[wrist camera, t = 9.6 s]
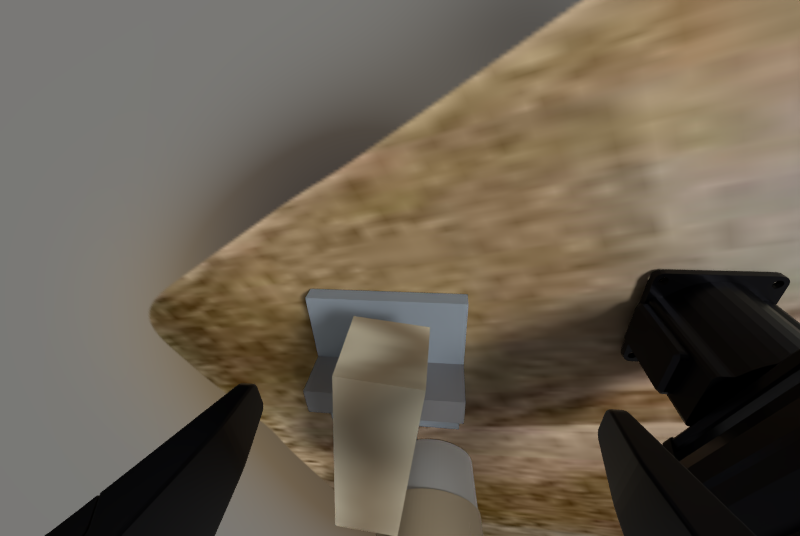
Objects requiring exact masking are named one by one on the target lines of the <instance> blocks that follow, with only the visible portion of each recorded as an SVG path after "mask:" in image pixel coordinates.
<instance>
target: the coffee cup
mask: <svg viewBox="0 0 800 536" xmlns="http://www.w3.org/2000/svg"><path fill="white" fill-rule="evenodd" d="M376 536H391V535H386V534H380V533H376ZM398 536H483V530H482V522H481V515H480V512H479V510H478V508H477V500H476V492H475V484H474V476H473V468H472V461H471V458H470V457H469V455H468V454H467V453H466V452H465V451H464V450H463V449H461V448H460V447H458V446H456V445H454V444H452V443H449V442H446V441H441V440H435V439H419V440H416V444H415V449H414V454H413V459H412V464H411V470H410V475H409V480H408V485H407V490H406V495H405V500H404V506H403V511H402V516H401V521H400V526H399V531H398Z"/></svg>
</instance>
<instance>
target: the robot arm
mask: <svg viewBox="0 0 800 536" xmlns="http://www.w3.org/2000/svg"><path fill="white" fill-rule="evenodd" d="M664 277H665V278H664ZM661 278H664V279H663V280H661V281H659V279H661ZM776 281H777V282H776ZM774 282H776V283H774ZM773 283H774V284H773ZM789 283H790V280H789V278H787V277H786V276H784V275H783V274H781V273H778V272H741V271H702V270H658V271H655V272H654V273H652V274H651V276H650V278H649V280H648V283H647V286H646V288H645V291H644V293H643V296H642V298H641V301H640V303H639V305H638V306H637V307H636V309H635V312H634V314H633V317H632V319H631V322H630V325H629V327H628V330H627V332H626V335H625V342H624V344H623V347H622V349H621V353H622V355H623V357H624V359H625V360H627V361H639V363H640V365H641V366H642V368H643V369H644V371H645V373H646V374H647V376H648V378H649V379H650V381H651V383H652V384H653V386H654V388H655V389H656V390H657V391H658V392H659V393H660V394H667V396H668V397H669V399H670V401H671V402H672V404H673V405H674V407H675V409H676V410H677V412H678V413H679V415H680V416H681V418H682V420H683V421H684V423H685V424H686V425H687V426H690V427H689V428H687V429H686V430H684V431H683V432H681V433H680V434H679V435H677V436H676V437H674V438H673V437H671V438H669V439H668V440H666V441H665V442H664V443H663V445H662V444H661V443H660V442H659V441H658V440H657V439H655V438H654V437H653V436H652V435H651V434H650V433H649V432H648V431H647V430H646V429H645V428H644V427H643V426H642V425H641V424H640V423H639V422H638V421H637V420H636V419H635V418H634V417H633V416H632V415H631V414H629V413H628V412H626V411H624V410H613V409H609V410H607V411H606V412H605V415H604V417H603V419H602V422H601V424H600V427H599V429H598V440H599V444H600V448H601V453H602V457H603V461H604V466H605V470H606V474H607V479H608V483H609V487H610V492H611V496H612V500H613V504H614V507H615V510H616V514H617V517H618V520H619V523H620V526H621V529H622V531H623V534H624V536H800V323H799V322H798V321H796V320H795V319H794V318H792V317H791V316H790V315H789V314H787V313H786V312H785V311H784V310H782V309H781V308H780V307H778V306H777V305H776V304H777V303H778V301H779V300H780V298H781V296H782V295H783V293H784V292H785V290H786V289H787V287H788V286H789ZM631 352H632V353H631ZM262 412H263V402H262V399H261V396H260V394H259V391H258V388H257V386H256V385H255V384H248V383H241V384H239V385H237V386H236V387H234V388H233V389H232V390H231V391H229V392H228V393H227V394H226V395H224V396H223V397H222V398H220V399H219V400H218V401H217V402H216V403H214V404H213V405H212V406H210V407H209V408H208V409H206V410H205V411H204V412H203V413H201V414H200V415H199V416H198V417H196V418H195V419H194V420H193V421H191V422H190V423H189V424H187V425H186V426H185V427H184V428H182V429H181V430H180V431H179V432H177V433H176V434H175V435H174V436H172V437H171V438H170V439H168V440H167V441H166V442H165V443H163V444H162V445H161V446H159V447H158V448H157V449H156V450H154V451H153V452H152V453H151V454H149V455H148V456H147V457H146V458H144V459H143V460H142V461H140V462H139V463H138V464H137V465H136V466H134V467H133V468H132V469H130V470H129V471H128V472H126V473H125V474H124V475H123V476H121V477H120V478H119V479H118V480H116V481H115V482H114V483H113V484H111V485H110V486H109V487H107V488H106V489H105V490H104V491H102V492H101V493H100V496H96V497H95V498H93V499H92V500H91V501H89V502H88V503H87V504H86V505H84V506H83V507H82V508H81V509H79V510H78V511H77V512H75V513H74V514H73V515H71V516H70V517H69V518H67V519H66V520H65V521H64V522H62V523H61V524H60V525H58V526H57V527H56V528H54V529H53V530H52V531H51V532H49V533H48V534H46V535H45V536H215V534H216V532H217V529H218V527H219V525H220V522H221V520H222V518H223V515H224V513H225V511H226V508H227V506H228V504H229V502H230V499H231V497H232V495H233V493H234V490H235V488H236V486H237V483H238V481H239V479H240V476H241V474H242V472H243V469H244V467H245V464H246V461H247V458H248V454H249V452H250V449H251V446H252V443H253V440H254V436H255V433H256V430H257V427H258V424H259V421H260V418H261V415H262Z"/></svg>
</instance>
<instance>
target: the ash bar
mask: <svg viewBox="0 0 800 536" xmlns="http://www.w3.org/2000/svg"><path fill="white" fill-rule="evenodd" d="M429 336H430V327H425V326H418V325H411V324H405V323H398V322H391V321H384V320H377V319H370V318H364V317H357V316H354V317H353V319H352V322H351V325H350V328H349V331H348V333H347V336H346V339H345V342H344V345H343V347H342V350H341V353H340V356H339V359H338V361H337V364H336V367H335V370H334V373H333V375H332V388H333V438H334V488H335V525H336V526H341V527H347V528H352V529H358V530H363V531H369V532H375V533H380V534H386V535H391V536H398V531H399V526H400V521H401V516H402V511H403V506H404V500H405V495H406V490H407V485H408V480H409V475H410V470H411V464H412V459H413V454H414V449H415V444H416V439H417V434H418V428H419V423H420V418H421V413H422V408H423V403H424V398H425V392H426V381H427V366H428V351H429Z"/></svg>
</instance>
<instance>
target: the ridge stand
mask: <svg viewBox="0 0 800 536" xmlns="http://www.w3.org/2000/svg"><path fill="white" fill-rule="evenodd" d="M305 299H306V303H307V308H308V312H309V317H310V321H311V326H312V330H313V335H314V339H315V343H316V348H317V352H318V358H317V360H316V363H315V365H314V367H313V370H312V372H311V374H310V377H309V379H308V381H307V384H306V386H305V388H304V391H303V392H304V395H305V399H306V403H307V406H308V410H309V412H321V413H331V415H332V419H333V388H332V375H333V373H334V370H335V367H336V364H337V361H338V359H339V356H340V353H341V350H342V347H343V345H344V342H345V339H346V336H347V333H348V331H349V328H350V325H351V322H352V319H353V317H354V316H357V317H364V318H370V319H377V320H384V321H391V322H398V323H405V324H411V325H418V326H425V327H430V336H429V351H428V366H427V381H426V392H425V398H424V403H423V408H422V413H421V418H420V423H419V426H424V427H436V428H449V429H459V423H460V424H464V415H465V403H466V402H465V381H464V354H465V341H466V328H467V315H468V294H442V293H414V292H385V291H357V290H329V289H310V291H309V293H308V294H307V296H306V298H305Z"/></svg>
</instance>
